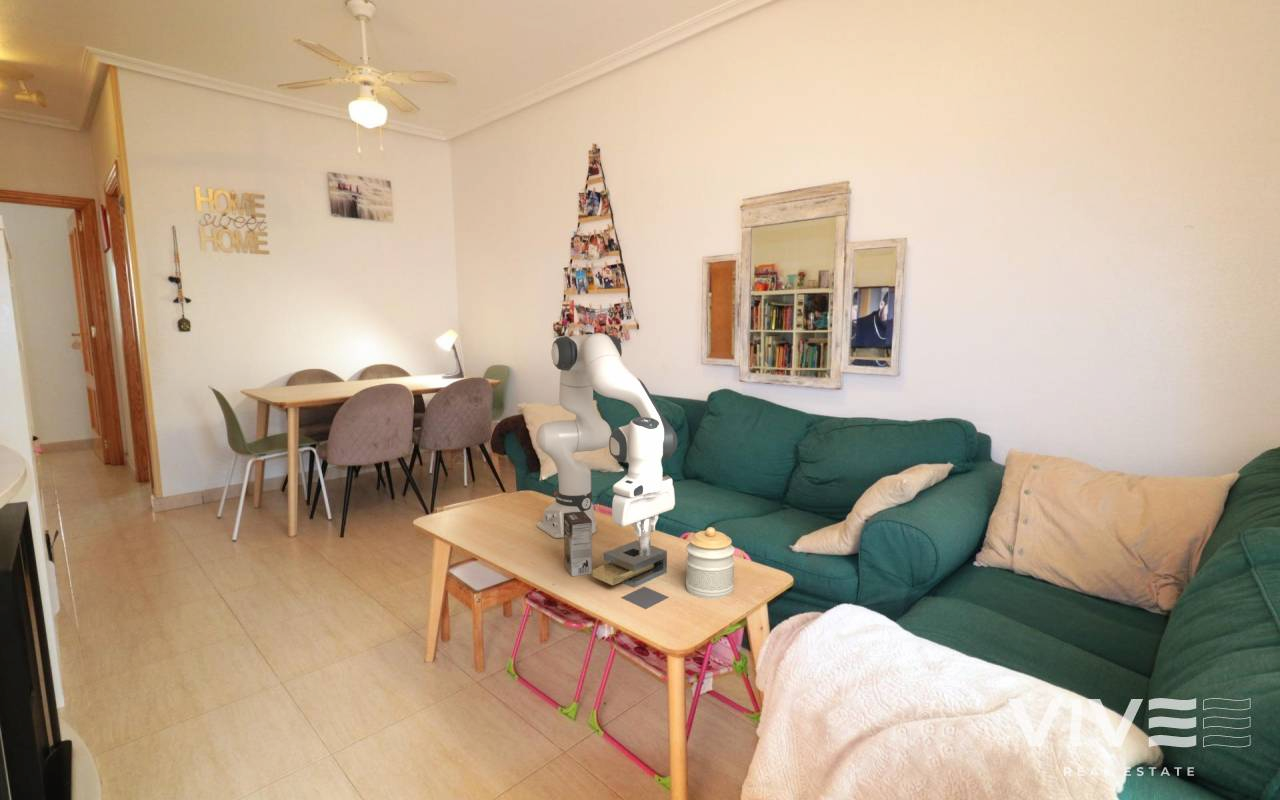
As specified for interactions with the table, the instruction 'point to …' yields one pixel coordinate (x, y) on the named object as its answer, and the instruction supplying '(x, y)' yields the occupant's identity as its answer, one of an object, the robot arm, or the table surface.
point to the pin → (645, 538)
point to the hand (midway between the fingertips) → (644, 533)
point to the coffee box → (578, 543)
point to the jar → (710, 565)
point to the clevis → (631, 565)
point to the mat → (644, 597)
